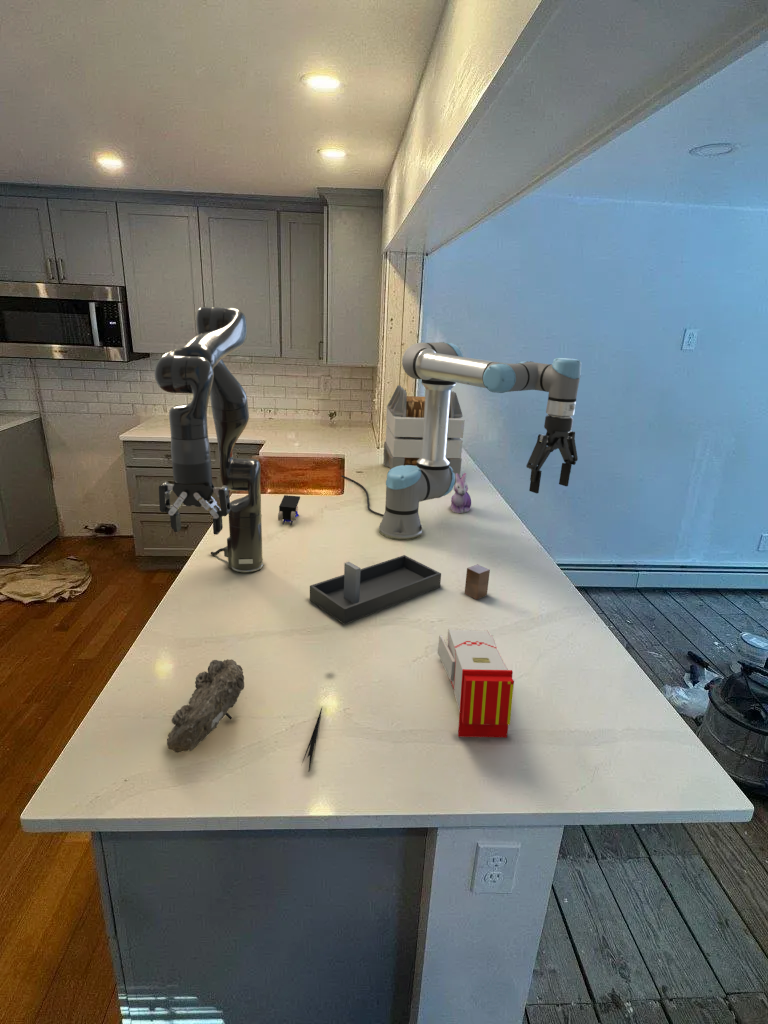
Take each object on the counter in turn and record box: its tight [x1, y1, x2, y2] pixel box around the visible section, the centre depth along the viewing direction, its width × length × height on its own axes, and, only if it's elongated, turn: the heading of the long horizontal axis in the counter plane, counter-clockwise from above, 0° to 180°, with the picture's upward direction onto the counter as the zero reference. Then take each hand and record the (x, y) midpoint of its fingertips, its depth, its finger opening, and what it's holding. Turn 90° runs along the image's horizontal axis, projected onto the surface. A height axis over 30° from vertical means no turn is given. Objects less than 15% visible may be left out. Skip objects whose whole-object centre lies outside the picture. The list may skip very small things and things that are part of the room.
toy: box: [437, 628, 515, 738], centre depth 117 cm, size 12×13×30 cm
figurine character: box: [277, 494, 301, 526], centre depth 207 cm, size 7×8×15 cm
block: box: [464, 563, 491, 601], centre depth 158 cm, size 4×4×8 cm
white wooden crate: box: [383, 384, 465, 484], centre depth 268 cm, size 34×33×41 cm
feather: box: [301, 673, 332, 771], centre depth 108 cm, size 2×28×2 cm
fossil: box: [166, 658, 245, 754], centre depth 106 cm, size 22×10×15 cm
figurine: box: [449, 472, 472, 514], centre depth 224 cm, size 9×10×15 cm
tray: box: [309, 554, 442, 625], centre depth 156 cm, size 16×34×11 cm, turn 131°
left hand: (197, 532), depth 120 cm, fingers open, 8 cm apart
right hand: (548, 488), depth 165 cm, fingers open, 13 cm apart
